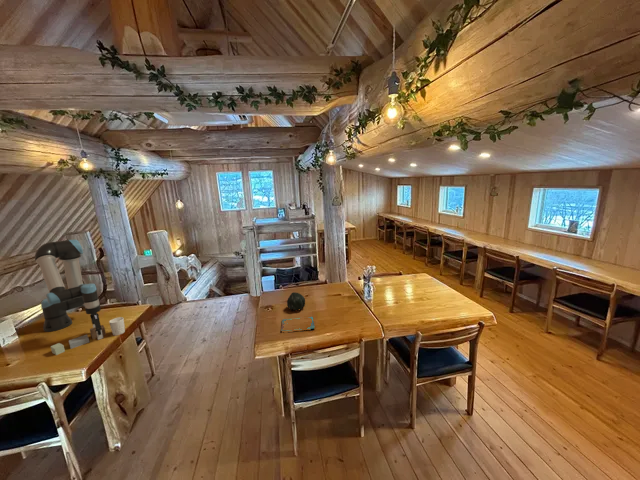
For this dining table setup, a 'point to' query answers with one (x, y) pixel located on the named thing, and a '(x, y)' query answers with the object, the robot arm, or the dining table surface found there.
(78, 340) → the grey slab
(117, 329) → the white cup
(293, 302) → the squash
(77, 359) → the dining table surface
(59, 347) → the sage block
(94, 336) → the walnut block
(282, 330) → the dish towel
